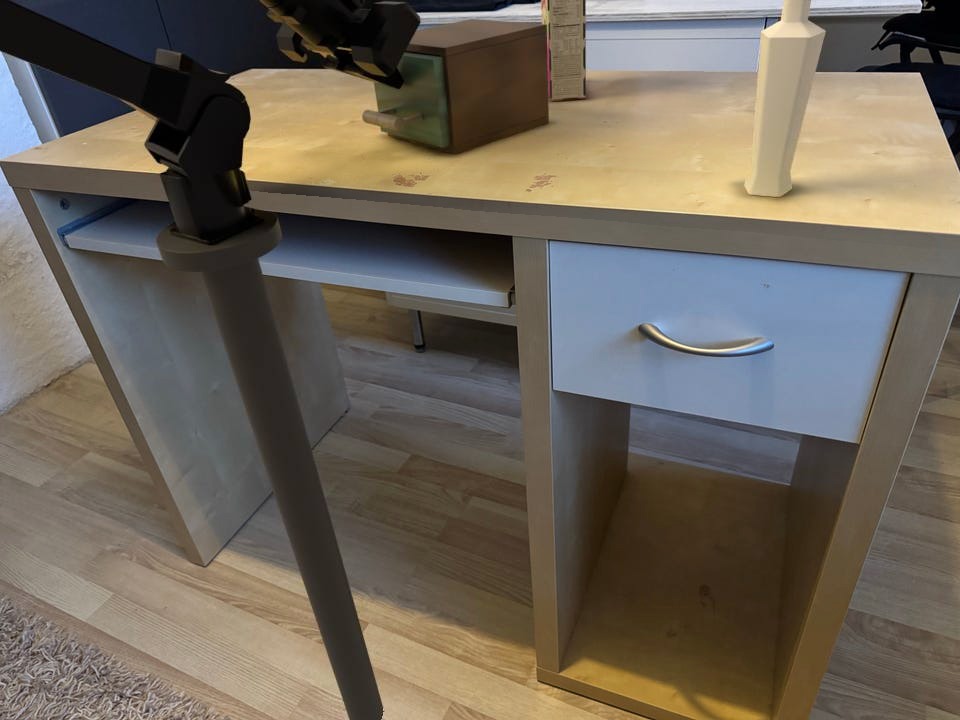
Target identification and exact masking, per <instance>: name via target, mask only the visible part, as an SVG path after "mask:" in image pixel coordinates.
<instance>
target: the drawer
mask: <svg viewBox="0 0 960 720" xmlns="http://www.w3.org/2000/svg"><path fill="white" fill-rule="evenodd" d="M397 68H398V70H399V72H400V74H401V76H402V78H403V80H404V83H403V85H402V87H401V88H400V89H394V88H391V87H388V86H384V85H381V84H378V83H375V82H373V86H374V93H375V100H376V106H377V107H376V108H377V111H375V110H371V109H365V110H364V111H363V112H362V115H361V119H362V121H363V123H365V124H369V125H373V126H376V127H380V131H381V132H383V133H385V134H387V133H389V134H393V135H396V136H400V137H404V138H408V139H411V140H415V141H419V142H423V143H426V144H430V145H434V146H438V147H441V148H444V147H447V146H450V145H451V140H450V130H449V120H448V110H447V99H446V89H445V79H444V69H443V59H442V56H440V55H433V54H425V53H417V52H410V51H405V53H404V55H403V56H402V58H401V60H400V62H399V64H398V66H397Z"/></svg>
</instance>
